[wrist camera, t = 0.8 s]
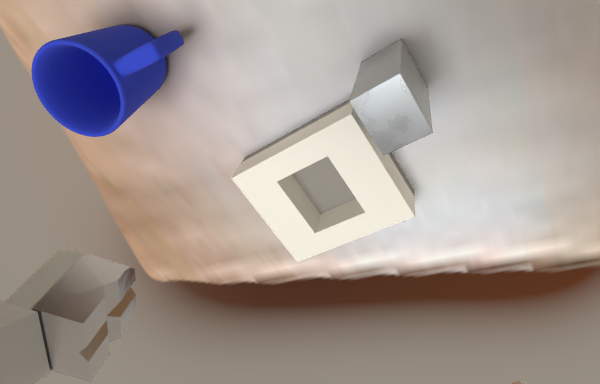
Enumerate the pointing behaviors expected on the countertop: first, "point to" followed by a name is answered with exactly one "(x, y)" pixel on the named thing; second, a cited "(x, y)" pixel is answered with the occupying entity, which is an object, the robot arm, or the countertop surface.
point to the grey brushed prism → (392, 99)
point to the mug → (101, 76)
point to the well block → (325, 184)
